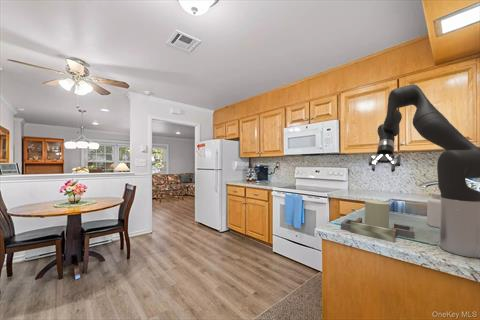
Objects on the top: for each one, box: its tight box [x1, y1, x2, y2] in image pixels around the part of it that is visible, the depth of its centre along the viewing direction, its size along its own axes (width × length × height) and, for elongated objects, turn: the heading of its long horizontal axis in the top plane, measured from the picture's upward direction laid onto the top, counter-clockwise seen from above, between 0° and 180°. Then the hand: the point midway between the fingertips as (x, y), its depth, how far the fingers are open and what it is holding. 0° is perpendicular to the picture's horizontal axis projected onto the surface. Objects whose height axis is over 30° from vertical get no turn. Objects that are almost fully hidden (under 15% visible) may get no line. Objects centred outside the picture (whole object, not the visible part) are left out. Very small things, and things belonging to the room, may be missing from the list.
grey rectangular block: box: [364, 199, 390, 229], centre depth 89 cm, size 9×9×12 cm
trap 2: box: [396, 223, 415, 239], centre depth 82 cm, size 5×8×2 cm, turn 139°
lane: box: [349, 217, 399, 243], centre depth 85 cm, size 14×17×4 cm
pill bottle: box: [426, 192, 441, 229], centre depth 93 cm, size 8×8×15 cm
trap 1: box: [340, 218, 357, 232], centre depth 89 cm, size 4×9×2 cm, turn 139°
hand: (382, 170), depth 104 cm, fingers open, 7 cm apart
